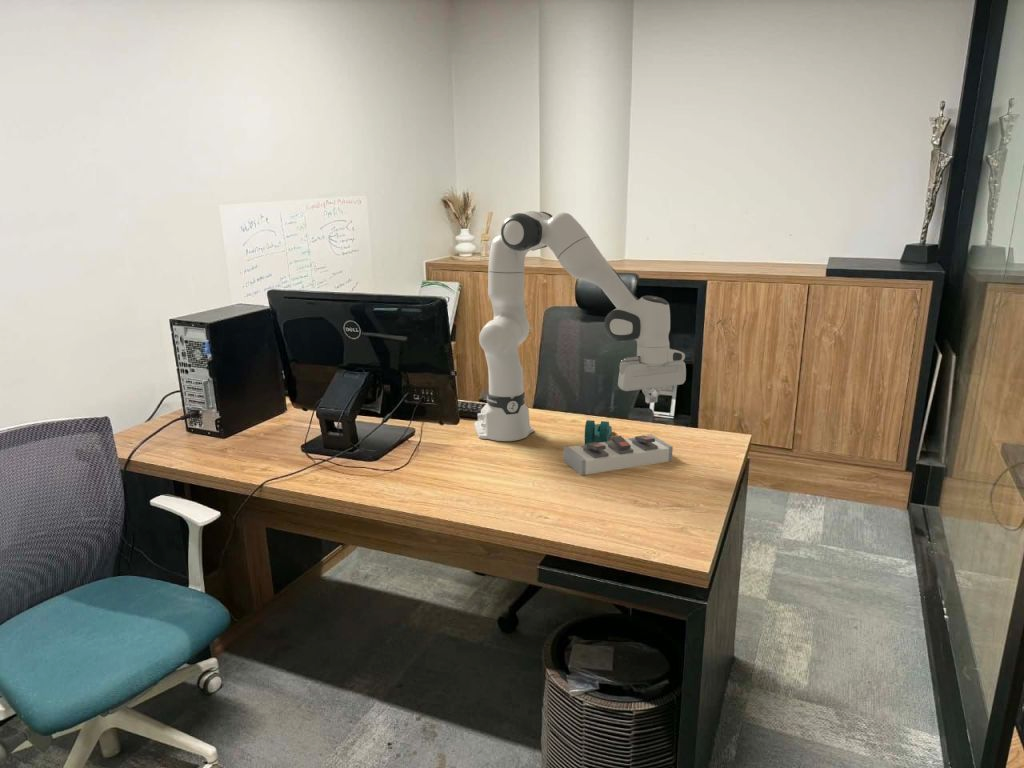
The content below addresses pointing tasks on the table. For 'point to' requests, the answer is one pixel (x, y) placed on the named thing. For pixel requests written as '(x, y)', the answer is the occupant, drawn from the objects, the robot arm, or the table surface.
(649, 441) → the rocker
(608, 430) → the bracket
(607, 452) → the power strip
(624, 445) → the rocker
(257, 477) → the table surface
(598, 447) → the rocker
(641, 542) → the table surface
